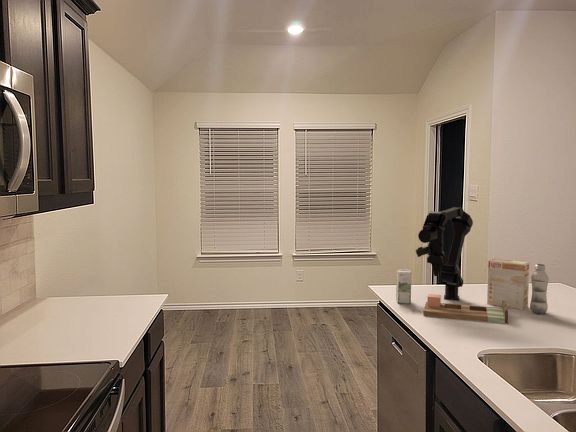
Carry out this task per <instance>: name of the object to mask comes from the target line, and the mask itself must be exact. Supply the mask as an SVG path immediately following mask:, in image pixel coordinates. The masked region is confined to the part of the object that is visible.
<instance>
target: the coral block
mask: <svg viewBox="0 0 576 432" xmlns="http://www.w3.org/2000/svg"><path fill="white" fill-rule="evenodd" d="M441 297H442V295H441V294H438V293H437V294H435V293H434V294H433V293H428V294H427V302H428V303H427V306H433V307H440V304H441V303H442V302H441V299H442V298H441Z"/></svg>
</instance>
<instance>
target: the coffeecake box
mask: <svg viewBox="0 0 576 432" xmlns="http://www.w3.org/2000/svg"><path fill="white" fill-rule="evenodd" d="M529 285H530V262H528V261H521V260H520V261H518V260H510V259H500V258H491V259H489V260H488V264H487V295H486V296H487V297H486V300H487V301H486V303H487V304H486V305H493V306H498V307H502V301H505V303H506V306H507V309H508V308H509V309H514V310H521V311H524V310H525V309H527V308H529V291H530V286H529Z"/></svg>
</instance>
